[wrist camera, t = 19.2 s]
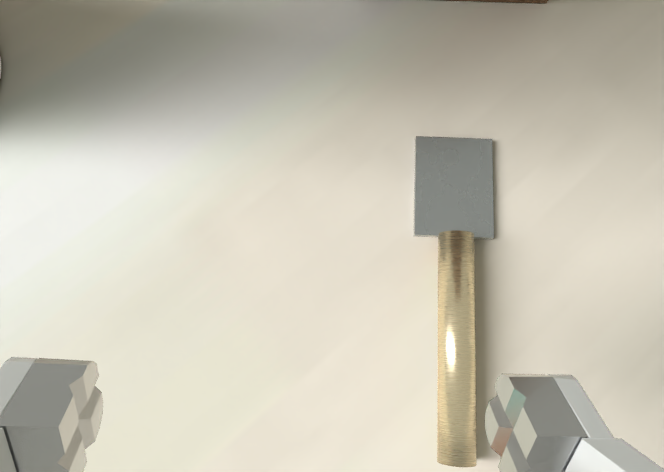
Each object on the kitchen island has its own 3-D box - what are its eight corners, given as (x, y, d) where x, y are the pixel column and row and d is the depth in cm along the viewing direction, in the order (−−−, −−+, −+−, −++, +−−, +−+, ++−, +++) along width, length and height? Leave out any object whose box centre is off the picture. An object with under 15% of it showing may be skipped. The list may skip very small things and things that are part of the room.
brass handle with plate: (495, 461, 37) (506, 469, 34) (410, 456, 37) (415, 464, 34) (490, 142, 42) (499, 128, 39) (415, 139, 42) (419, 125, 40)
